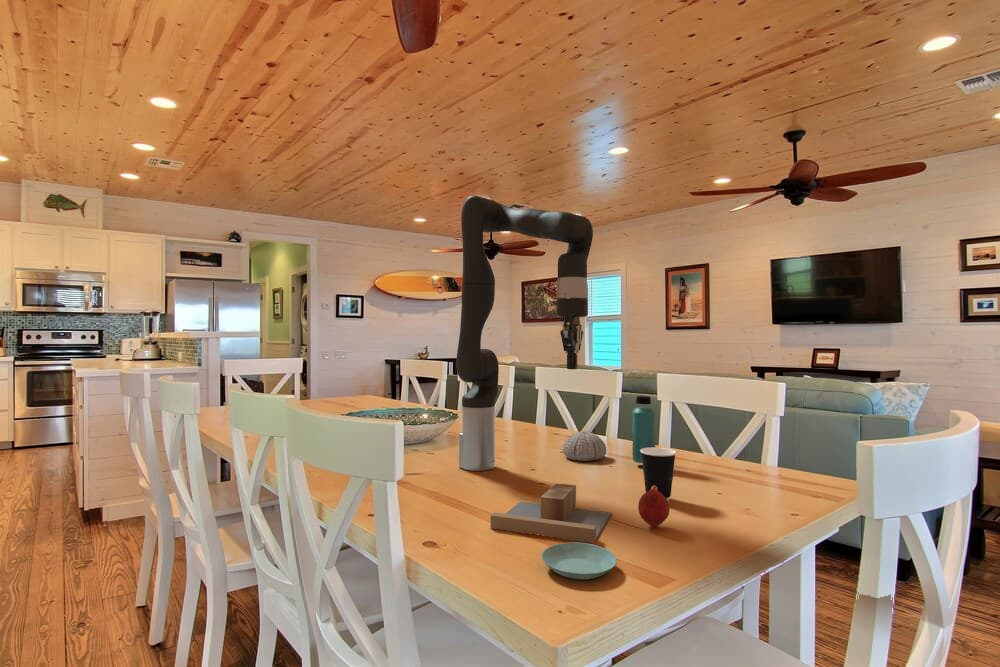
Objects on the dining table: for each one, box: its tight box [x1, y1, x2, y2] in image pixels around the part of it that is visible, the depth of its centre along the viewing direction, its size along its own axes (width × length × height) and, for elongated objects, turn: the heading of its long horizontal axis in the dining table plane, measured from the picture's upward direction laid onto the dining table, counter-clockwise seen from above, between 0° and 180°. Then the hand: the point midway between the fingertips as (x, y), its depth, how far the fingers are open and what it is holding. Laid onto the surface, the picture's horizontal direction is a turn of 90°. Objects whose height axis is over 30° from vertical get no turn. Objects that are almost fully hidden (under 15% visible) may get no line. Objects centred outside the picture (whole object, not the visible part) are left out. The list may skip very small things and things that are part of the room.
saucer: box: [540, 541, 618, 581], centre depth 87 cm, size 12×12×2 cm
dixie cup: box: [640, 447, 677, 502], centre depth 124 cm, size 8×8×11 cm
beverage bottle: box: [631, 395, 657, 464], centre depth 155 cm, size 6×7×20 cm
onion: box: [637, 485, 670, 528], centre depth 106 cm, size 6×6×8 cm
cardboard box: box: [540, 482, 577, 521], centre depth 113 cm, size 4×4×11 cm
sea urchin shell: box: [562, 431, 608, 462], centre depth 165 cm, size 13×14×8 cm
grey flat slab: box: [490, 501, 612, 544], centre depth 109 cm, size 20×17×2 cm
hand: (572, 369), depth 131 cm, fingers closed
